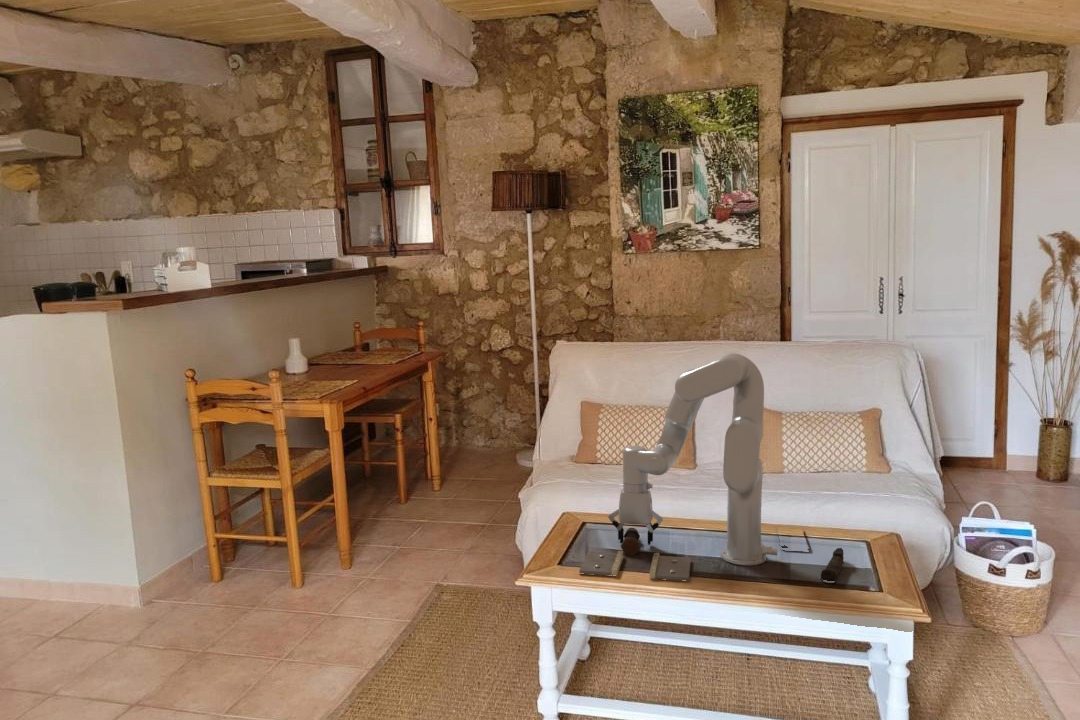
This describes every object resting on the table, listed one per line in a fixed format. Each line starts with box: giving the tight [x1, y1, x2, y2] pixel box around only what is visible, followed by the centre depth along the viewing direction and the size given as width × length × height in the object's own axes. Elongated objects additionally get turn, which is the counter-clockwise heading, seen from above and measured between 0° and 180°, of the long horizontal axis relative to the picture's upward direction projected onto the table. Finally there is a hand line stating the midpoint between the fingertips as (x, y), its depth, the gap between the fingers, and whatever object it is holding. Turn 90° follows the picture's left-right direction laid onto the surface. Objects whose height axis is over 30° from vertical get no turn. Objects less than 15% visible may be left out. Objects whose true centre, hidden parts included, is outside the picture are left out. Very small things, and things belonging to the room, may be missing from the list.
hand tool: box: [820, 547, 845, 581], centre depth 220 cm, size 19×4×5 cm, turn 147°
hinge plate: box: [579, 550, 692, 581], centre depth 226 cm, size 30×15×2 cm, turn 77°
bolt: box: [620, 527, 641, 556], centre depth 244 cm, size 6×5×15 cm
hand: (635, 542), depth 244 cm, fingers open, 7 cm apart
